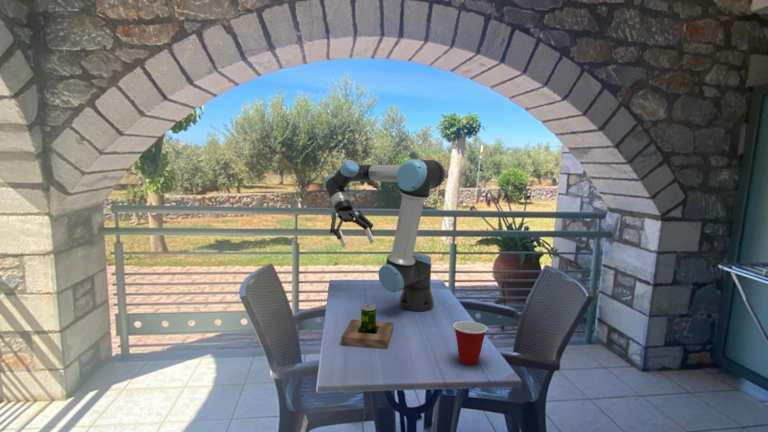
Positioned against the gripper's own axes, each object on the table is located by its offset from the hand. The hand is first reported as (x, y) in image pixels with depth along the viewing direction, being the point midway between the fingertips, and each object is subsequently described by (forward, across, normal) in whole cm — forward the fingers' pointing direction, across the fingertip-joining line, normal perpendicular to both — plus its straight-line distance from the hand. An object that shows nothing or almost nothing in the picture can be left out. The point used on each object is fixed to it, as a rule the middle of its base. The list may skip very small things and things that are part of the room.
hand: (358, 243), depth 176 cm
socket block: (+39, +12, -1) cm, 41 cm away
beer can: (+40, +12, -1) cm, 41 cm away
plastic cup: (+62, -7, +22) cm, 66 cm away
